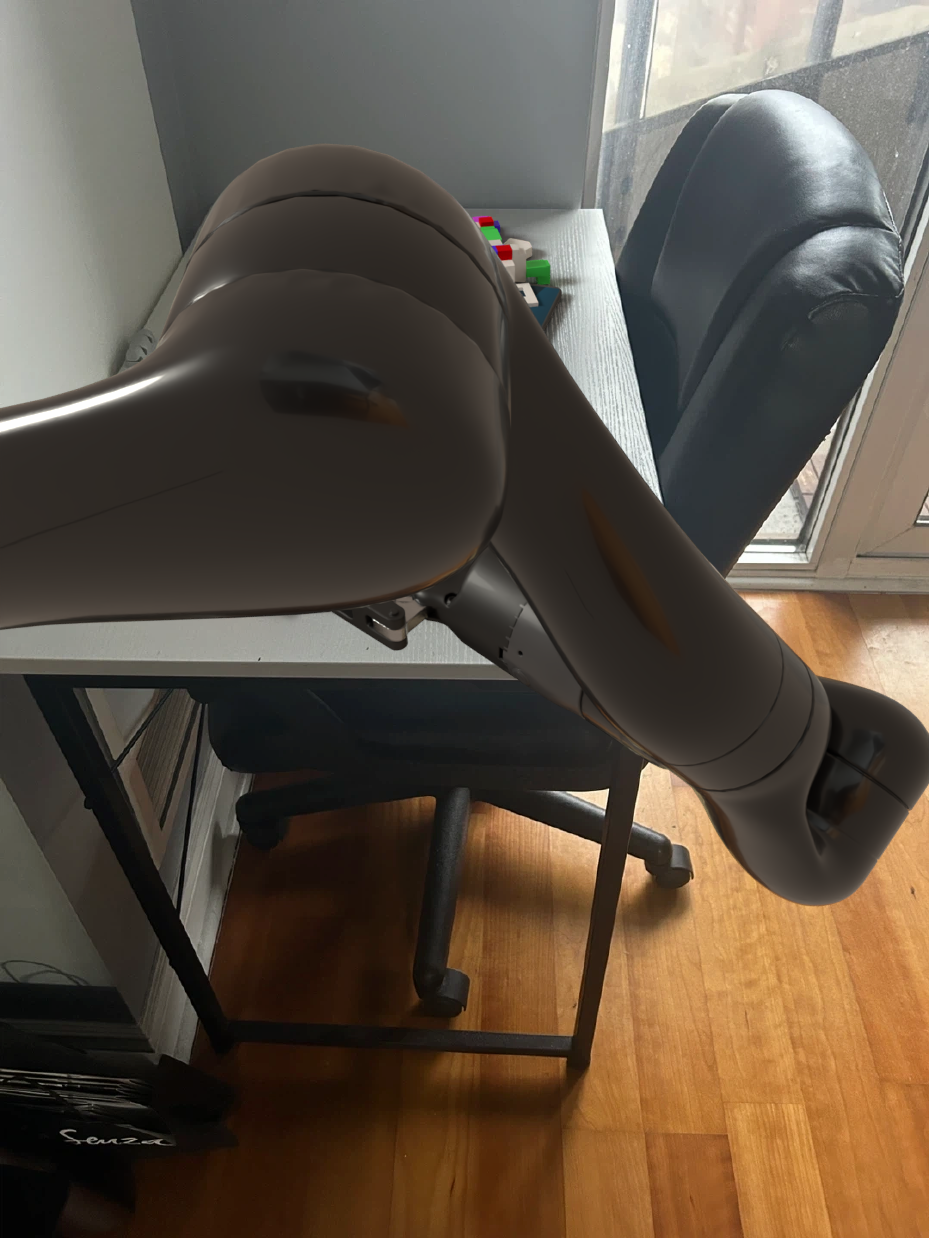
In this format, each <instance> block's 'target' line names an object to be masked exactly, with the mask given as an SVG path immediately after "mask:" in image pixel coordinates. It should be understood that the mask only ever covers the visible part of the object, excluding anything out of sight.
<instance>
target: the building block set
mask: <svg viewBox="0 0 929 1238" xmlns="http://www.w3.org/2000/svg"><path fill="white" fill-rule="evenodd" d="M471 217H472V219H473V220H474V221H475V223H476V224H477V225H478V227H479V228H480V230H481V231H482V232H483V234H484V235H485V237H486V238H487V240H488V241H489V243H490V244H491V246H492V247H493V249H494V251H495V252H496V254H497V255H498V257H499V258H500V260H501V261H502V263H503V265H504V266H505V268H506V269H507V271H508V272H509V274H510V276H511V277H512V279H513V280H514V282H523V284H516V285H517V287H518V289H519V290H520V291H522V290H523V291H524V293H525V295H526V296H525V297H524V298H525V300H526V302H527V303H528V305H529V307H536V306H538V301H537V299H536V297H535V294H534V292H533V290H532V288H531V286H530V284H529V283H530V282H527V281H526V280H527V279H528V278H534V281H535V282H536V284H540V285H551V264H550V261H549V260H548V259H533V260H527V259H529V258H530V257H533V246H532V244H531V242H530V241H527V240H523V239H518V238H511V237H510V238H508V239H507V240H506V241H505V242H504V243H503V238H502V236H501V224H500V222H499V220H494V219H493V216H490V215H480V216H479V215H478V216H471Z"/></svg>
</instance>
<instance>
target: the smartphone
mask: <svg viewBox="0 0 929 1238" xmlns="http://www.w3.org/2000/svg"><path fill="white" fill-rule="evenodd" d="M528 283H529V284H530V286H531V288H532V290H533V292H534V294H535V297H536V299H537V301H538V306H536V307H530V308H531V310H532V312H533V313H534V315H535V317H536V318H537V320H538V322H539V323H540V325H541V327H542V328H543V330H544V332H545V331H546V329H547V327H548V325H549V323H550V320H551V319H552V317H553V315H554V312H555V310H556V309H557V306H558V304H559V302H560V301H561V299H562V294H563V292H562V289H561V288H560V287H559V286H556V285H555V286H554V285H549V284H543V285H540V284H537V283H530V282H528ZM515 284H523V282H515ZM520 292H521V293H522V295H523V297H525V296H526V295H525V293H524V291H523V290H522V291H520Z"/></svg>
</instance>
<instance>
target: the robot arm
mask: <svg viewBox="0 0 929 1238" xmlns="http://www.w3.org/2000/svg"><path fill="white" fill-rule="evenodd" d="M472 217H473V216H471V215H470V213H469V212H468V211H467V210H466V209H465V208H464V207H463V205H462V204H461V203H460V202H459V201H458V200H457V199H456V197H454V196H453V195H452V194H451V193H450V192H449V191H447V190H446V189H445V188H444V187H443V186H442V185H440V184H439V183H438V182H436V181H435V180H434V179H433V178H431V177H429V176H428V175H427V174H426V173H425V172H423V171H422V170H420V169H418V168H416V167H414V166H412V165H410V164H409V163H406V162H404V161H402V160H401V159H398V158H396V157H395V156H393V155H391V154H388V153H384V152H380V151H377V150H373V149H371V148H366V147H363V146H359V145H356V144H355V145H354V144H342V143H341V144H340V143H325V142H322V143H321V142H320V143H315V144H308V145H302V146H294V147H289V148H285V149H283V150H281V151H278V152H276V153H274V154H271V155H269V156H266V157H264V158H261V159H259V160H257V161H256V162H255V163H253V164H252V165H251V166H249V167H248V168H247V169H245V170H244V171H242V172H241V173H239V174H238V175H237V176H236V177H235V178H233V179H232V181H231V182H229V184H228V185H227V186H226V187H225V188H224V190H223V191H222V192H221V193H220V195H219V196H218V197H217V199H215V202H214V203H213V205H212V207H211V209H210V211H209V212H208V214H207V217H206V218H205V220H204V222H203V225H202V226H201V228H200V229H199V233H198V235H197V238H196V241H195V242H194V245H193V248H192V251H191V253H190V255H189V257H188V260H187V263H186V265H185V268H184V270H183V273H182V277H181V279H180V282H179V285H178V287H177V290H176V293H175V295H174V298H173V300H172V303H171V306H170V309H169V312H168V313H167V316H166V319H165V322H164V324H163V328H162V330H161V333H160V336H159V338H158V342H157V344H156V347H155V349H154V350H153V351H152V352H151V353H149V354H148V355H146V356H145V357H144V358H142V359H141V360H140V361H138V362H137V363H135V364H134V365H132V366H130V367H128V368H126V369H125V370H123V371H120V372H119V373H116V374H114V375H111V376H109V377H106V378H103V379H101V380H98V381H95V382H92V383H89V384H87V385H84V386H81V387H79V388H78V387H77V388H75V389H72V390H69V391H64V392H62V393H58V394H55V395H51V396H47V397H44V398H40V399H36V400H30V401H27V402H22V403H16V404H13V405H7V406H3V407H0V631H4V630H5V631H7V630H12V629H13V630H15V629H23V628H35V627H44V626H45V627H46V626H54V625H55V626H59V625H76V624H78V625H79V624H80V625H81V624H100V623H101V624H105V623H130V622H133V623H134V622H158V621H159V622H160V621H161V622H162V621H185V620H186V621H187V620H215V619H241V618H245V619H246V618H260V617H261V618H264V617H282V616H300V615H301V616H302V615H311V614H313V615H314V614H323V613H333V614H334V615H336V616H337V617H339V618H340V619H342V620H344V621H346V622H347V623H348V624H350V625H352V626H353V627H355V628H356V629H358V630H360V631H361V632H363V633H364V634H366V635H367V636H369V637H370V638H372V639H374V640H375V641H377V642H378V643H380V644H381V645H383V646H384V647H386V648H388V649H389V650H391V651H395V652H396V651H397V652H398V651H402V650H404V649H406V648H407V646H408V644H409V639H408V638H409V637H408V635H409V633H410V632H412V631H413V630H414V629H415V628H416V627H418V626H419V625H421V624H422V623H423V622H424V621H427V622H428V621H429V622H433V623H434V622H435V623H439V624H442V625H444V626H445V627H447V628H448V629H449V630H450V631H451V632H452V633H453V634H454V635H455V637H457V639H458V640H460V642H461V643H463V645H466V646H467V647H468V648H469V649H472V651H474V652H476V653H477V654H478V655H480V656H481V657H483V658H485V659H486V660H487V661H489V662H490V663H492V664H493V665H495V666H497V667H498V668H500V669H501V670H502V671H504V672H505V673H507V674H509V676H511V677H513V678H514V679H515V680H517V681H518V682H519V683H521V684H523V685H525V686H526V687H527V688H529V689H531V690H532V691H534V692H535V693H537V694H538V695H540V696H541V697H543V698H544V699H545V700H547V701H548V702H550V703H552V704H553V705H556V706H558V707H560V708H562V709H564V710H566V711H568V712H571V713H572V714H574V715H577V716H578V717H580V718H582V719H583V720H585V721H586V722H588V723H589V724H590V725H592V726H593V727H595V728H597V730H599V731H600V732H603V733H604V734H605V735H607V737H610V738H611V739H613V740H614V741H616V742H617V743H619V744H620V745H622V746H624V747H625V748H626V749H628V750H629V751H631V752H632V753H634V754H635V755H636V756H639V757H640V758H642V759H643V760H645V761H646V762H648V763H650V764H651V765H653V766H656V767H657V768H660V769H663V770H667V771H669V772H670V773H672V774H673V775H675V776H676V778H679V779H680V780H681V781H683V782H684V783H685V784H686V785H688V786H689V787H690V788H691V790H692V791H693V792H694V794H695V795H696V797H697V798H698V800H699V801H700V803H701V806H702V807H703V809H704V811H705V813H706V815H707V817H708V819H709V821H710V824H711V825H712V827H713V829H714V831H715V832H716V834H717V836H718V837H719V839H720V840H721V842H722V844H723V845H724V846H725V848H726V849H727V851H728V852H729V854H730V855H731V856H732V857H733V859H734V860H735V861H736V864H738V865H739V866H740V867H741V868H742V869H743V871H745V873H746V874H748V876H750V877H751V878H752V880H754V881H755V882H756V883H757V884H759V885H760V886H762V887H763V888H764V889H765V890H767V891H769V892H770V893H772V894H773V895H775V896H777V897H778V898H781V899H783V900H785V901H787V902H790V903H792V904H795V905H800V906H804V907H805V906H806V907H817V908H818V907H826V906H831V905H834V904H837V903H840V902H842V901H844V900H846V899H848V898H850V897H851V896H852V895H854V894H855V893H856V892H857V891H858V890H859V889H860V887H861V886H862V885H863V884H864V883H865V881H866V880H867V878H868V877H869V876H870V874H871V873H872V871H873V869H874V868H875V866H876V865H877V863H878V860H880V859H881V857H882V856H883V854H884V852H885V851H886V849H887V848H888V846H889V845H890V843H891V842H892V841H893V839H894V837H895V836H896V834H897V833H898V831H899V830H900V828H901V826H902V825H903V824H904V822H905V820H906V819H907V817H908V816H909V814H910V811H912V810H913V809H914V808H915V806H916V804H917V803H918V801H919V800H920V799H921V797H922V796H923V794H924V793H925V791H926V790H927V788H928V786H929V731H928V730H927V728H926V726H925V725H924V724H923V722H922V721H921V720H920V719H919V717H917V716H916V715H915V714H914V713H913V712H912V711H911V710H910V709H909V708H907V707H906V706H905V705H903V704H902V703H901V702H899V701H898V700H896V699H894V698H891V697H890V696H888V695H887V694H884V693H882V692H878V691H876V690H873V689H871V688H868V687H864V686H860V685H857V684H854V683H852V682H847V681H844V680H838V679H834V678H831V677H826V676H821V675H817V674H816V673H815V672H814V671H813V670H812V669H811V667H810V666H809V665H808V664H807V663H806V662H805V661H804V660H803V659H802V658H801V656H799V655H798V654H797V653H796V652H795V651H794V649H793V648H791V646H790V645H789V644H788V643H787V642H786V641H785V640H784V639H783V638H782V637H781V636H780V635H779V634H778V633H777V632H776V630H775V629H773V628H772V627H771V626H770V625H769V623H767V621H766V620H765V619H764V618H763V617H762V616H761V615H759V613H758V612H757V611H756V610H755V609H754V608H753V607H752V606H751V605H750V604H748V602H747V601H746V600H745V599H744V598H743V597H742V596H741V595H740V593H738V591H737V590H735V588H734V587H733V586H732V585H731V584H730V583H729V582H728V581H727V579H725V578H724V576H723V575H722V574H721V573H720V572H719V570H718V569H717V568H716V567H715V566H714V565H713V564H712V562H711V561H710V560H709V559H708V558H707V557H706V556H705V554H704V553H703V552H702V551H701V549H700V548H699V547H698V546H697V545H696V544H695V543H694V541H693V540H692V539H691V538H690V536H689V535H688V534H687V533H686V531H685V530H684V529H683V528H682V526H681V525H680V524H679V523H678V521H677V520H676V519H675V518H674V517H673V515H672V514H671V513H670V511H669V510H668V509H667V507H666V505H664V504H663V502H662V501H661V500H660V499H659V497H658V495H656V493H655V492H654V490H653V489H652V488H651V487H650V486H649V484H648V482H646V480H645V479H644V477H643V475H641V473H640V472H639V471H638V469H637V467H636V466H635V465H634V463H633V462H632V461H631V459H630V458H629V456H628V455H627V454H626V452H625V451H624V450H623V448H622V446H621V445H620V444H619V442H618V441H617V440H616V438H615V437H614V434H612V433H611V431H610V429H609V428H608V427H607V425H606V424H605V422H604V421H603V420H602V417H600V415H599V414H598V412H597V410H595V408H594V407H593V406H592V403H590V401H589V399H588V398H587V397H586V395H585V394H584V392H583V390H582V389H581V388H580V386H579V384H578V382H576V380H575V379H574V377H573V376H572V374H571V373H570V371H569V369H568V368H567V366H566V365H565V363H564V361H563V360H562V358H561V356H560V355H559V352H558V351H557V349H556V348H555V346H554V344H553V343H552V342H551V340H550V339H549V337H548V335H547V333H546V332H545V331H544V330H543V328H542V327H541V325H540V323H539V322H538V320H537V318H536V317H535V315H534V313H533V312H532V310H531V308H530V307H529V305H528V303H527V302H526V300H525V298H524V297H523V295H522V293H521V292H520V290H519V289H518V287H517V285H516V284H515V282H514V280H513V279H512V277H511V276H510V274H509V272H508V271H507V269H506V268H505V266H504V265H503V263H502V261H501V260H500V258H499V257H498V255H497V254H496V252H495V251H494V249H493V247H492V246H491V244H490V243H489V241H488V240H487V238H486V237H485V235H484V234H483V232H482V231H481V230H480V228H479V227H478V225H477V224H476V223H475V221H474V220H473V219H472Z"/></svg>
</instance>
